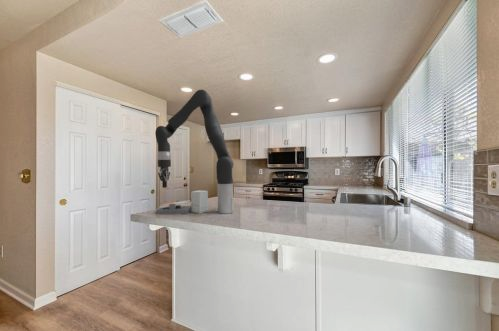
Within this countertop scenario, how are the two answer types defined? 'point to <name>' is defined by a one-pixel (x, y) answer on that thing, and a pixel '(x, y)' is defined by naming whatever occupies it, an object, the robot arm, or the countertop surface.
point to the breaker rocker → (175, 203)
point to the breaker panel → (174, 209)
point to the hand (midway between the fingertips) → (164, 187)
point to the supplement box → (199, 201)
